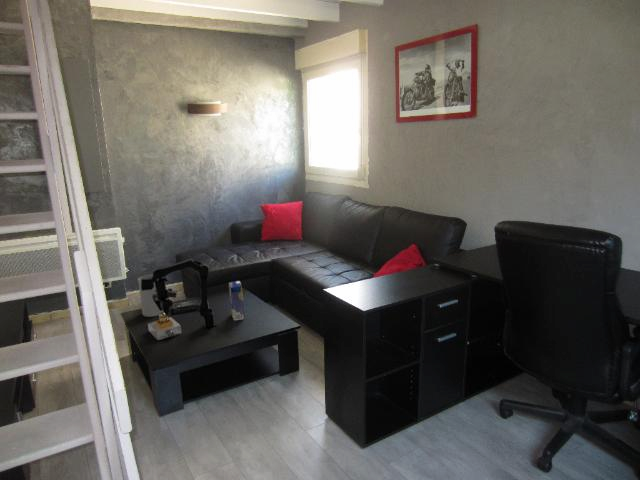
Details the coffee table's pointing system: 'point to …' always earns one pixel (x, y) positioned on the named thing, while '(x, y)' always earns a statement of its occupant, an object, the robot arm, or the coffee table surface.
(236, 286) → the beverage box
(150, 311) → the cylinder vase
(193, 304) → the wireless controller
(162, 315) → the brass can
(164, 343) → the coffee table surface
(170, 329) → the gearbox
